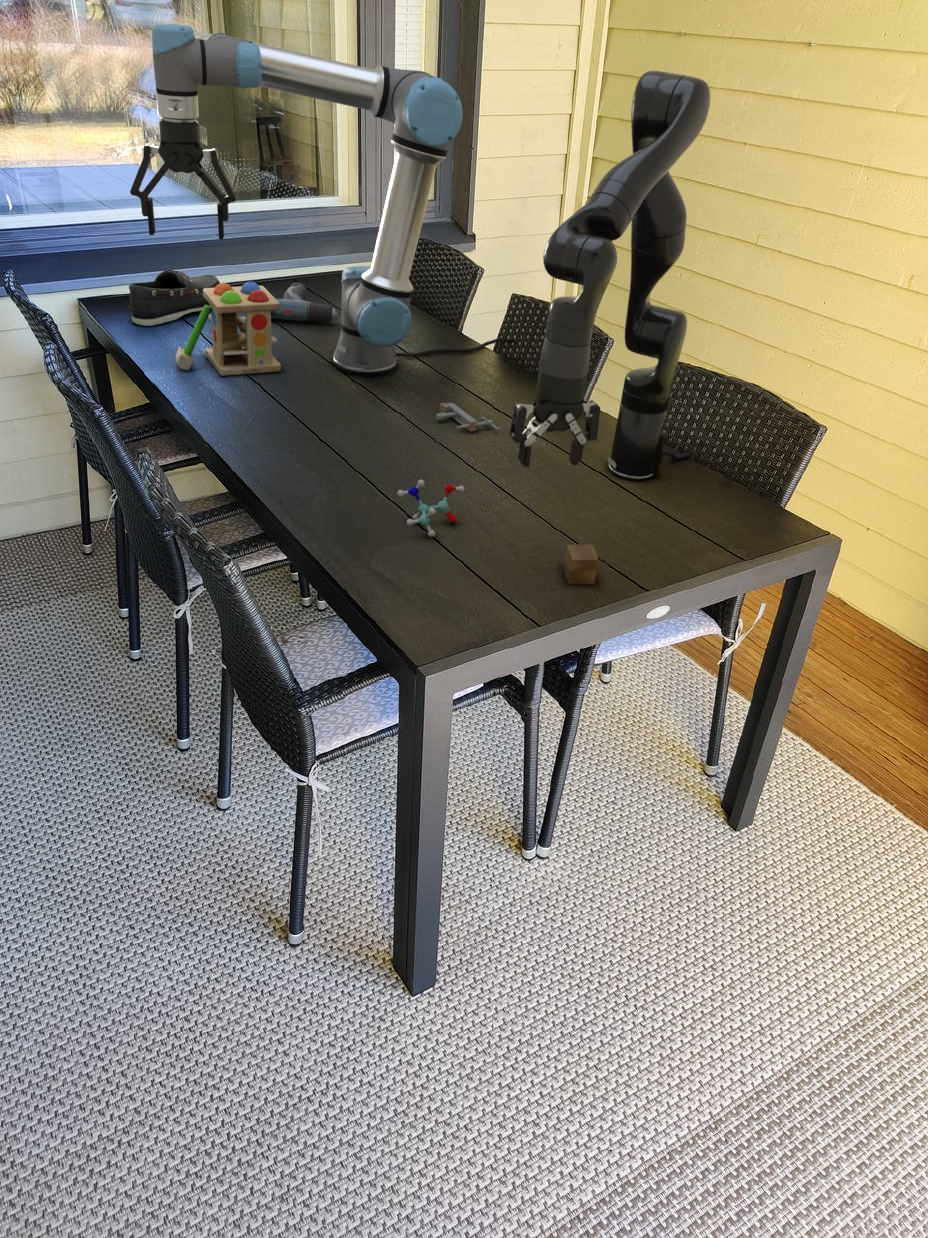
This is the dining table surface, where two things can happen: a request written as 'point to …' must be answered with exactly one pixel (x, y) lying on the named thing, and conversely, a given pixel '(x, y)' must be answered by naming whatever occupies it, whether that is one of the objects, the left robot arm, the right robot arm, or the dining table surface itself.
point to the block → (580, 564)
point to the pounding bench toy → (229, 347)
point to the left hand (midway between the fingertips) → (187, 235)
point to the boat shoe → (168, 297)
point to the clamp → (459, 414)
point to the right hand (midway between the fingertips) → (549, 464)
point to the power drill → (301, 307)
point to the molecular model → (424, 508)
